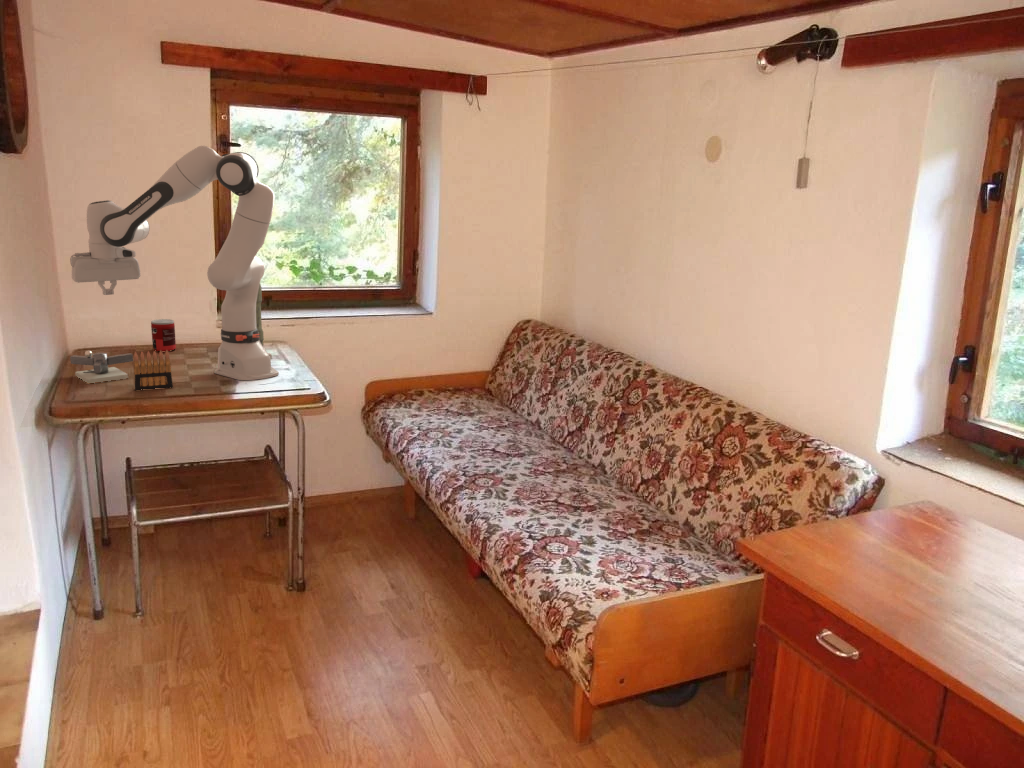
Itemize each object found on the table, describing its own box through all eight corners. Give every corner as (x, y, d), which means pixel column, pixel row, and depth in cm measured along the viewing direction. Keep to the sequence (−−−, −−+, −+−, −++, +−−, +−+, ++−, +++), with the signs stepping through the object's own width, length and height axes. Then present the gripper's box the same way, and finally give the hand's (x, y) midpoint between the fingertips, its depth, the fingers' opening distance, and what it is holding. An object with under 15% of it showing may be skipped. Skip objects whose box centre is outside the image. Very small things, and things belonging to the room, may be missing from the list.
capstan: (135, 367, 268) (133, 347, 266) (99, 380, 251) (97, 359, 249) (92, 363, 270) (90, 343, 269) (53, 376, 253) (51, 355, 251)
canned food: (156, 347, 304) (154, 318, 301) (178, 348, 305) (176, 319, 302) (150, 352, 297) (147, 322, 294) (172, 352, 298) (170, 323, 295)
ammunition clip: (172, 386, 254) (169, 349, 251) (173, 387, 253) (170, 350, 250) (134, 389, 249) (131, 351, 246) (135, 390, 248) (132, 352, 245)
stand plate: (128, 378, 261) (127, 373, 260) (88, 384, 252) (87, 379, 252) (115, 371, 269) (114, 366, 268) (75, 376, 261) (75, 371, 260)
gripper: (72, 254, 252) (77, 298, 256) (140, 251, 266) (143, 293, 270) (66, 252, 257) (70, 295, 260) (133, 249, 271) (136, 291, 274)
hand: (108, 294), depth 265 cm, fingers closed
